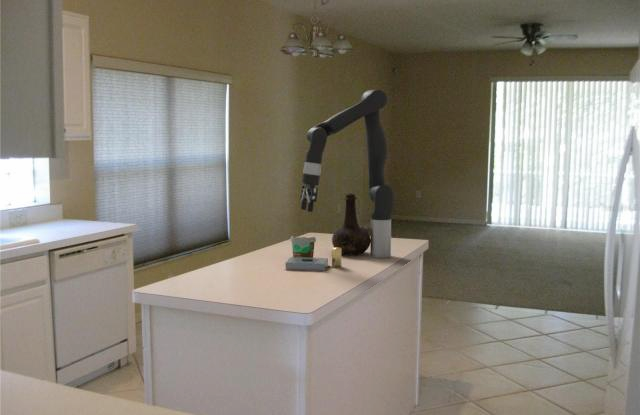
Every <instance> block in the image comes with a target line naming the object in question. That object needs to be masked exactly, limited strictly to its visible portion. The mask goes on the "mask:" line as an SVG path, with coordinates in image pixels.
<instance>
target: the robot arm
mask: <svg viewBox="0 0 640 415" xmlns="http://www.w3.org/2000/svg"><path fill="white" fill-rule="evenodd" d="M387 103H388V96H387V93H386V92H385V91H384V90H382V89H377V88H376V89H369V90H366V91H365V92H364V93H363V94H362V96H361V101H360V102H358V103H356V104H354V105H353V106H351V107H348V108H345V109H344V110H342V111H340V112H338V113H336V114H334V115H333V116H331V117H330V118H328V119H326V120H325V121H323V122H320V123H318V124H316V125H315V126H313V127H312V128H310V129H308V131H307V132H306V139H307V141H308V142H309V143H310V145H309V148H308V149H307V151H306V153H305V159H304V160H305V161H304V165H303V172H302V177H301V178H302V179H301V183H302V184H304V185H301V191H300V196H299V198H300V200H301V205H300V210H303V211H305V210H307V212H310V213H312V212H313V210H314V204H315V203H317V199H318V198H317V197H318V189H319V188H317V187H316V186H319V185H320V179H321V171H322V160H323V154H324V151H325V148H326V144H327V141H328V137H330V136H331V135H336V134H337V133H339V132H340V131H342V130H344V129H345V128H347V127H349V126H350V125H351V124H354V123H355V122H357V121H358V120H360V119H363V118H364V125H365V126H364V127H365V128H364V129H365V140H366V141H365V143H366V153H367V154H366V156H367V166H368V196H369V200H370V201H371V202H373V203H374V210H373V211H372V212H371V214H370V239H371V242H370V250H369V251H370V252H369V253H370V257H371V258H376V259H377V258H378V259H387V258H390V259H391V257H392V216H393V214H394V206H395V205H394V203H395V202H394V201H395V193H394V189H393V188H392V186H390V185H389V184H386V183H385V174H384V173H385V167H386V163H387V160H388V141H387V140H388V139H387V136H386V133H385V132H384V129H383V127H382V126H383V125H382V124H381V117H380V110H382V109H383V108H385V106H386V105H387Z"/></svg>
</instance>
